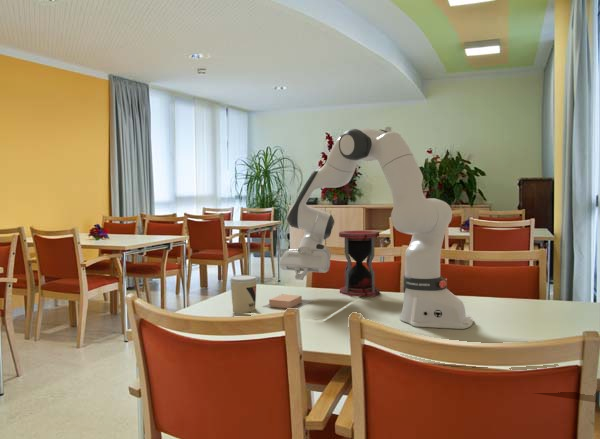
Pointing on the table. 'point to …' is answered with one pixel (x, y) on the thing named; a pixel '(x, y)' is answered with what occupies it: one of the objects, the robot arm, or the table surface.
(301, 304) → the slate board
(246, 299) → the coffee cup
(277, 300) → the picture frame
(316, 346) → the table surface
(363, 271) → the hourglass
